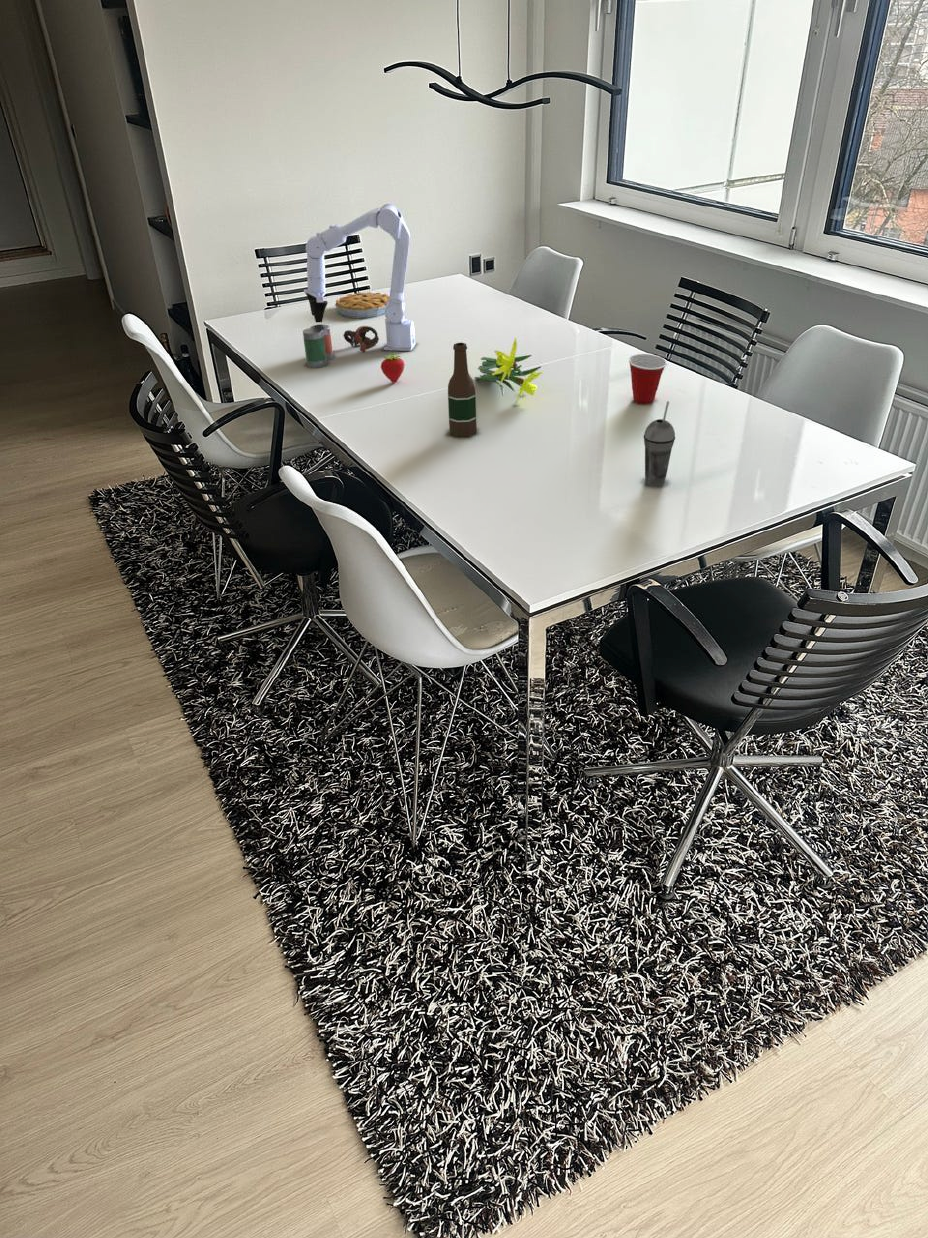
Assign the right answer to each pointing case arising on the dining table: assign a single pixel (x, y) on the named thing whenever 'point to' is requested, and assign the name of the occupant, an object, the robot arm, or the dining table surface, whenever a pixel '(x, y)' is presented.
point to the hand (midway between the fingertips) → (317, 318)
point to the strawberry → (392, 367)
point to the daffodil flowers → (508, 371)
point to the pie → (362, 305)
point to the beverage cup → (658, 450)
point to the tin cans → (317, 345)
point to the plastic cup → (646, 376)
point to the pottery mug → (361, 337)
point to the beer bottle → (461, 396)
